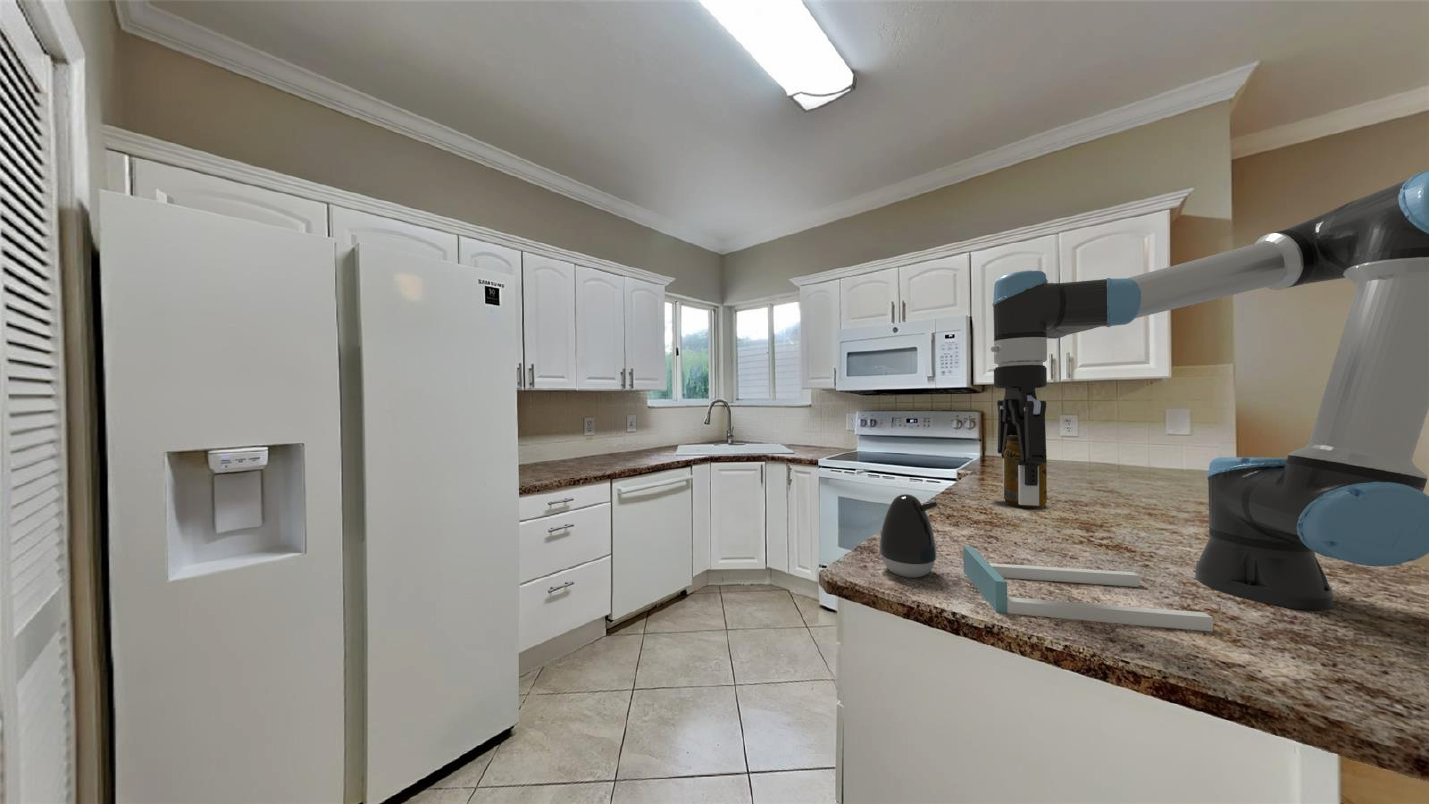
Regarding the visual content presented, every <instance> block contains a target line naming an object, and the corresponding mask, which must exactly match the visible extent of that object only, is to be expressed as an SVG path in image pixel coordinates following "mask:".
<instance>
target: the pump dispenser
mask: <svg viewBox="0 0 1429 804" xmlns="http://www.w3.org/2000/svg"><path fill="white" fill-rule="evenodd" d="M937 507H938V503H937V501H935V500H933V501H929V502H922V503H921V501H920V500H919V499H918V498H917V497H916V496H914V495H911V494H907V493H905V494H900V495H898V496H896V497H895V498H894V499H893V500H892V501H891V503H890V505H889V507H888V509H887V512H886V514H885V516H884V520H883V522H882V526H881V530H880V531H881V532H880V535H879V536H880V538H879V549H878V550H879V554H880V555H881V559H882V561H883V563H884V565H885V566H886V568H887V569H888V570H889V571H890V572H892V573H893V574H895V575H896V576H898V577H899V576H900V577H904V578H912V579H914V578H916V579H918V578H921V577H924V576H926V575H927V574H929V573H930V572H931V571H932V569H933V567H934V564H935V562H936V561H937V557H938V556H937V555H938V553H937V546H936V539H935V533H934V530H933V527H932V526H933V525H932V523H931V520H930V517H929V516H928V513H927V511H928V510H931V509H934V508H937Z"/></svg>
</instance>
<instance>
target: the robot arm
mask: <svg viewBox="0 0 1429 804" xmlns="http://www.w3.org/2000/svg"><path fill="white" fill-rule="evenodd" d="M1340 279H1347V280H1349V281H1350V282H1351V283H1353V284H1354V285H1355V286H1356V289H1355V292H1354V295H1353V298H1352V302H1351V304H1350V308H1349V311H1348V315H1347V319H1346V322H1345V325H1344V328H1343V330H1342V334H1341V337H1340V340H1339V344H1338V347H1337V350H1336V354H1335V356H1334V359H1333V363H1332V367H1331V370H1330V373H1329V376H1328V380H1327V383H1326V385H1325V389H1324V393H1323V395H1322V396H1323V397H1322V398H1321V403H1320V405H1319V409H1318V413H1317V416H1316V419H1315V422H1314V425H1313V428H1312V431H1311V434H1310V437H1309V438H1310V439H1309V441H1308V444H1307V445H1306V446H1303V447H1301V448H1298V449H1296V450H1293V451H1290V452H1288V454H1287V457H1252V456H1251V457H1249V456H1248V457H1241V456H1240V457H1239V456H1238V457H1236V456H1233V457H1231V456H1230V457H1229V456H1228V457H1223V456H1221V457H1215V458H1213V459H1212V460H1211V461H1210V463H1209V466H1208V473H1207V475H1206V479H1207V482H1208V524H1209V525H1208V533H1209V534H1208V535H1209V536H1208V540H1207V543H1206V544H1205V547H1204V548H1203V550H1202V553H1201V555H1200V557H1199V560H1198V561H1197V563H1196V565H1195V570H1194V571H1195V579H1196V581H1197V582H1198V583H1200V584H1201V585H1204V586H1205V587H1208V588H1210V589H1212V590H1215V591H1217V592H1220V593H1223V594H1226V595H1229V596H1233V597H1236V598H1239V599H1244V600H1248V601H1252V602H1256V603H1261V604H1264V605H1270V606H1277V607H1283V608H1285V609H1293V610H1301V611H1302V610H1303V611H1325V610H1330V609H1332V608H1333V607H1334V591H1333V589H1332V587H1331V586H1330V584H1329V582H1328V579H1327V576H1326V575H1325V572H1324V570H1323V568H1322V567H1321V565H1320V563H1319V560H1318V558H1317V556H1316V554H1318V555H1320V556H1322V557H1325V558H1331V559H1335V560H1338V561H1344V562H1347V563H1350V564H1355V565H1359V566H1363V567H1374V568H1375V567H1378V568H1379V567H1383V568H1384V567H1393V566H1395V567H1396V566H1401V565H1402V564H1405V563H1408V562H1414V561H1416V560H1419V559H1421V558H1423V557H1424V556H1427V555H1428V554H1429V495H1427V494H1426V493H1425V492H1424V491H1425V488H1426V485H1427V482H1428V477H1429V476H1428V475H1427V474H1426V473H1424V471H1422V470H1421V469H1420V468H1419V467H1418V466H1416V465H1415V464H1414V462H1413V458H1414V455H1415V451H1416V449H1417V446H1418V442H1419V440H1420V437H1421V433H1422V430H1423V427H1424V425H1425V424H1424V423H1425V421H1426V418H1427V415H1428V412H1429V169H1427V170H1424V171H1421V172H1419V173H1416V174H1415V175H1413V176H1411V177H1410V178H1408V179H1406V180H1404V181H1401V182H1399V183H1398V182H1397V183H1396V184H1394V185H1391V186H1389V187H1386V188H1384V189H1380V190H1378V191H1375V192H1373V193H1370V194H1367V195H1366V196H1364V197H1360V198H1358V199H1356V200H1352V201H1350V202H1348V203H1345V204H1343V205H1340V206H1338V207H1336V208H1333V209H1332V210H1329V211H1327V212H1325V213H1323V214H1320V215H1318V216H1315V217H1313V218H1311V219H1309V220H1306V221H1303V222H1301V223H1298V224H1296V225H1294V226H1292V227H1291V226H1290V227H1288V228H1285V229H1282V230H1278V231H1275V232H1270V233H1267V234H1264V235H1262V236H1261V237H1259V238H1258V239H1256V241H1255V243H1254V244H1250V245H1245V246H1243V247H1239V248H1235V249H1231V250H1228V251H1224V252H1219V253H1216V254H1212V255H1209V256H1204V257H1201V258H1198V259H1194V260H1191V261H1186V262H1183V263H1179V264H1175V265H1172V266H1169V267H1168V266H1167V267H1164V268H1160V269H1157V270H1152V271H1149V272H1145V273H1142V274H1138V275H1134V276H1131V277H1127V278H1125V277H1124V278H1110V277H1107V278H1106V279H1105V278H1104V279H1093V280H1090V279H1089V280H1082V281H1070V282H1055V283H1054V282H1049V281H1048V278H1047V274H1046V273H1045V271H1042V270H1030V269H1029V270H1021V271H1016V272H1011V273H1006V274H1004V275H1002V276H1000V277H999V278H997V279H996V281H995V282H994V286H993V299H992V300H993V301H992V307H993V346H991V348H990V352H992V353H993V354H994V355H993V363H994V364H995V365H997V367H994V369H993V386H994V388H996V389H1005V392H1004V398H1003V400H1001V399H1000V400H997V402H996V404H997V411H998V415H997V416H998V418H997V453H998V454H999V455H1000V456H1001V458H1002V495H1003V496H1004V452H1005V450H1006V448H1007V447H1006V444H1007V439H1006V438H1007V436H1008V435H1018V442H1019V450H1020V457H1021V461H1018V462H1016V464H1017V465H1018V502H1019V504H1020V505H1035V506H1039V466H1040V465H1041V463H1047V462H1048V461H1047V460H1048V459H1047V457H1046V456H1047V437H1046V436H1047V434H1046V432H1047V431H1046V409H1047V402H1046V401H1045V400H1038V398H1037V393H1036V389H1040V388H1041V389H1042V388H1045V387H1046V386H1047V385H1048V381H1047V379H1048V371H1047V370H1048V369H1047V366H1046V365H1045V364H1044V365H1043V363H1046V362H1047V361H1048V339H1049V340H1051V339H1052V340H1056V339H1060V338H1064V337H1066V336H1069V335H1073V334H1076V333H1082V332H1086V331H1089V330H1093V329H1097V328H1101V327H1106V328H1110V327H1113V326H1123V325H1128V324H1130V323H1132V322H1133V321H1134V320H1135V319H1139V318H1142V317H1145V316H1146V317H1147V316H1151V315H1154V314H1159V313H1162V312H1163V313H1165V312H1166V311H1171V310H1175V309H1176V310H1177V309H1179V308H1180V309H1181V308H1185V307H1188V306H1193V305H1196V304H1200V303H1205V302H1209V301H1213V300H1217V299H1222V298H1225V297H1230V296H1233V295H1239V294H1242V293H1245V292H1250V291H1255V290H1260V289H1263V288H1266V289H1270V290H1274V291H1280V290H1283V289H1284V290H1285V289H1289V288H1292V287H1293V288H1294V287H1297V286H1303V285H1308V284H1313V283H1314V284H1315V283H1319V282H1326V281H1334V280H1340ZM1046 461H1047V462H1046Z"/></svg>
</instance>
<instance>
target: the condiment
mask: <svg viewBox="0 0 1429 804" xmlns="http://www.w3.org/2000/svg"><path fill="white" fill-rule="evenodd" d="M1006 439H1007V444H1006V447H1007V448H1006V450H1005V452H1004V458H1003V459H1004V495H1003V500H996V501H993V502H987V503H986V504H987V505H991V506H994V507H998V508H1002V509H1009V510H1012V511H1018V512H1019V511H1021V512H1024V513H1032V514H1037V513H1040V512H1043V511H1046V510H1048V511H1049V510H1050V509H1054V508H1056V507H1058V505H1057V504H1056V505H1054V504H1050V503H1049V504H1047V501H1048V500H1047V498H1048V497H1047V495H1048V492H1047V489H1048V488H1047V485H1048V484H1047V482H1048V481H1047V478H1048V477H1047V476H1048V475H1047V473H1048V472H1047V471H1048V470H1047V462H1048V461H1046V463H1041V465H1040V466H1039V506H1035V505H1020V504H1019V502H1018V465H1017V464H1016V462H1018V461H1021V457H1020V450H1019V442H1018V435H1008V436H1007V438H1006ZM1047 457H1048V456H1047V455H1046V458H1047Z"/></svg>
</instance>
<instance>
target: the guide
mask: <svg viewBox="0 0 1429 804" xmlns="http://www.w3.org/2000/svg"><path fill="white" fill-rule="evenodd" d="M962 549H963V550H962V552H963V553H962V554H963V555H962V556H963V557H962V559H963V573H964V574H965V575H966V576H967V578H968V579H969V580H970V581H971V583H972V584H973V585H974V586H975V587H976V589H977V591H978V592H979V593H980V594H981V596H983V598H984V599H985V600H986V602H987V603H988V602H989V603H988V604H989V605H990V606H991V608H992V607H993V608H992V609H993V611H994V612H995V613H1001V612H1003V613H1004V614H1014V615H1024V616H1025V615H1026V616H1033V617H1034V616H1035V617H1043V618H1044V617H1046V618H1058V619H1067V620H1079V621H1088V622H1099V623H1111V624H1112V623H1113V624H1121V625H1134V626H1145V627H1157V628H1168V629H1178V630H1180V629H1182V630H1191V631H1201V632H1213V633H1214V618H1213V616H1211V615H1209V614H1207V613H1206V612H1202V611H1191V610H1178V609H1177V610H1176V609H1168V608H1167V609H1165V608H1154V607H1152V608H1151V607H1138V606H1128V605H1127V606H1126V605H1125V606H1124V605H1114V604H1102V603H1101V604H1100V603H1088V602H1087V603H1086V602H1077V601H1076V602H1073V601H1063V600H1049V599H1038V598H1037V599H1036V598H1035V599H1034V598H1022V597H1011V596H1008V581H1007V580H1006V578H1008V579H1020V580H1033V581H1050V582H1062V583H1063V582H1065V583H1079V584H1092V585H1106V586H1120V587H1121V586H1122V587H1132V588H1133V587H1134V588H1140V575H1139V574H1137V573H1135V572H1134V571H1122V570H1121V571H1119V570H1104V569H1103V570H1102V569H1088V568H1087V569H1086V568H1072V567H1056V566H1041V565H1026V564H1025V565H1024V564H1023V565H1022V564H1009V563H1007V564H1005V563H994V562H993V563H992V562H991V563H990V562H988V561H987V560H986V559H985V558H984V557H983V556H982V555H981V554H980V553H979V551H978V550H976V549H975V547H974V546H969V545H963V546H962ZM1003 613H1002V614H1003Z"/></svg>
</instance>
